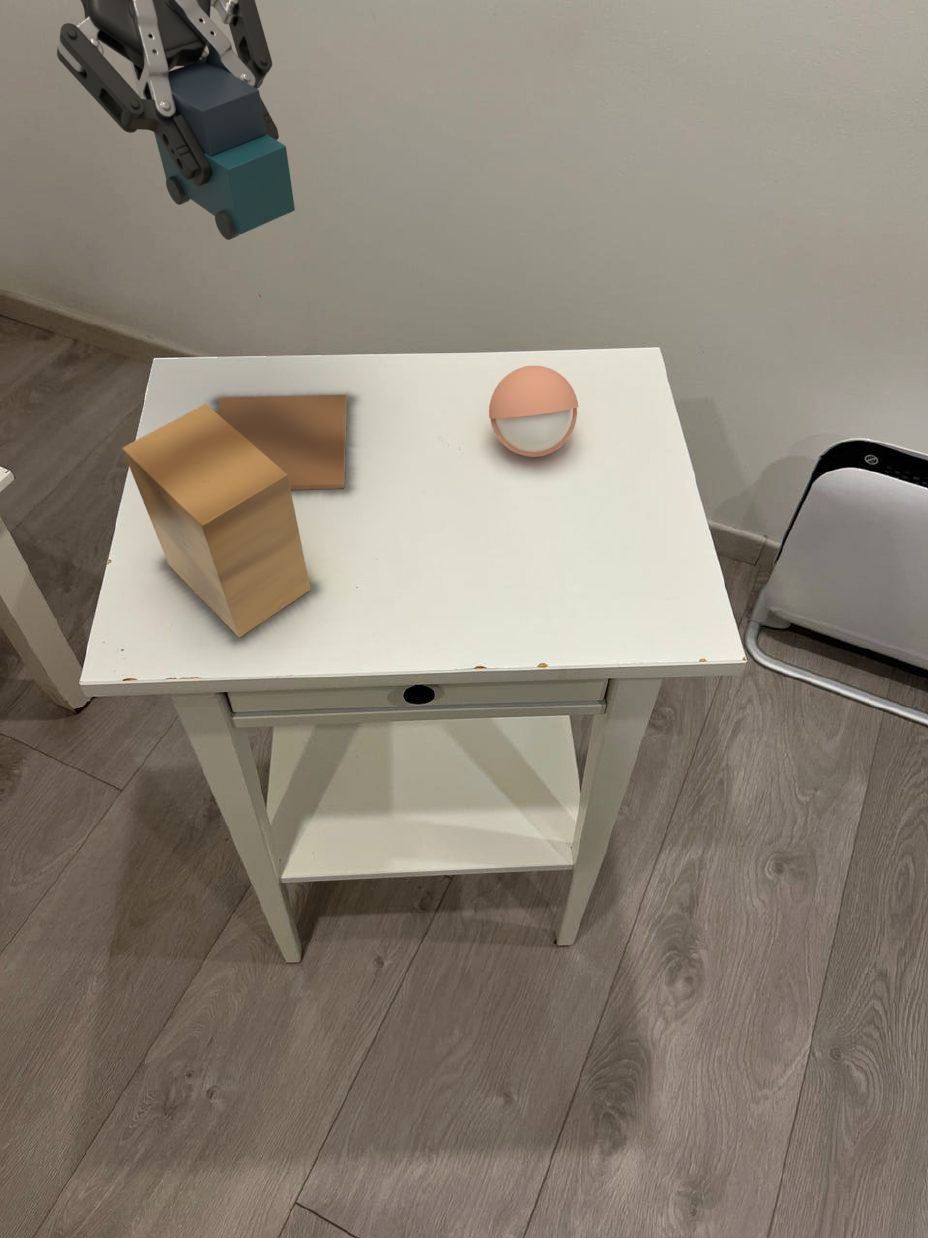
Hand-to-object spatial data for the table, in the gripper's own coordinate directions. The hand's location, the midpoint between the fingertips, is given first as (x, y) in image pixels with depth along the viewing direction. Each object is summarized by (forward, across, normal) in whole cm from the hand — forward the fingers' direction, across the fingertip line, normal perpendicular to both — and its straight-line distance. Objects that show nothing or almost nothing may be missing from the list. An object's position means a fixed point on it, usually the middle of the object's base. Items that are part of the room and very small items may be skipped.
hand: (238, 165), depth 58 cm
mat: (+17, 0, +20) cm, 26 cm away
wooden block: (+25, -12, +12) cm, 30 cm away
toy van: (+1, 0, +4) cm, 4 cm away
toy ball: (+28, +17, +9) cm, 34 cm away
